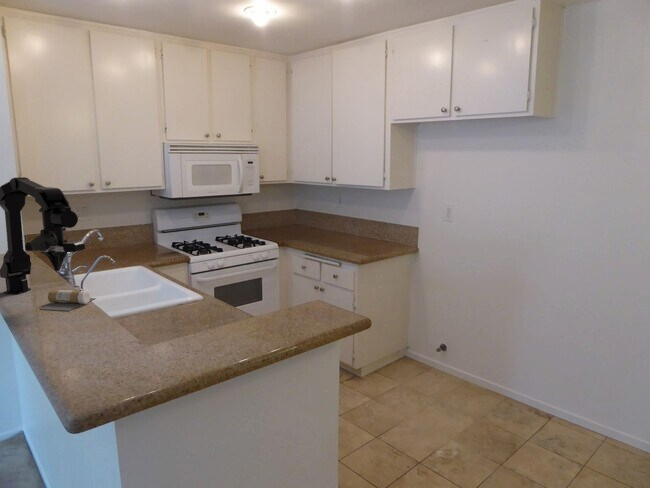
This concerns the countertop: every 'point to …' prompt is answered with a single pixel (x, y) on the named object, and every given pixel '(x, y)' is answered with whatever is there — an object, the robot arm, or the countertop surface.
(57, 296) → the sprinkles bottle
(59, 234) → the robot arm
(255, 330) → the countertop surface
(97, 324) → the countertop surface
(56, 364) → the countertop surface
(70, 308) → the mat
